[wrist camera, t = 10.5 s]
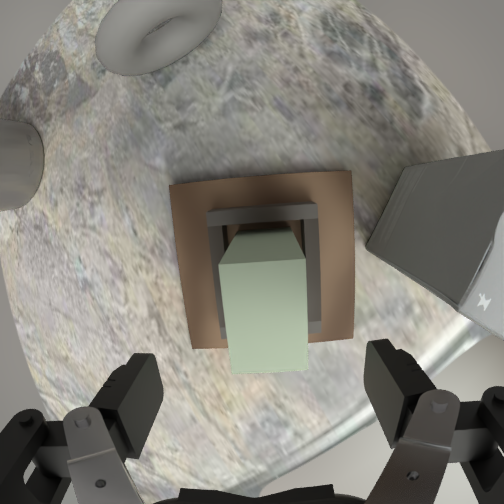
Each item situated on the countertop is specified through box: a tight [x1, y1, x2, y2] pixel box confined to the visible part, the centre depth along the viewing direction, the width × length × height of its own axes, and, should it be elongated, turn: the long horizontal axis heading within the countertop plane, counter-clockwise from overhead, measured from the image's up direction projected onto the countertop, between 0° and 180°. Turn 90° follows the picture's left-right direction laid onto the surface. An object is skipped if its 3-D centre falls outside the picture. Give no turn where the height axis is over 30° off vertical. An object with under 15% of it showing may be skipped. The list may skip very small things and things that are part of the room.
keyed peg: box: [218, 227, 308, 374], centre depth 20 cm, size 6×4×10 cm, turn 5°
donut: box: [95, 0, 222, 76], centre depth 18 cm, size 10×4×10 cm, turn 122°
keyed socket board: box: [169, 171, 355, 349], centre depth 25 cm, size 14×14×4 cm
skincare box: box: [366, 150, 504, 341], centre depth 17 cm, size 8×7×16 cm
